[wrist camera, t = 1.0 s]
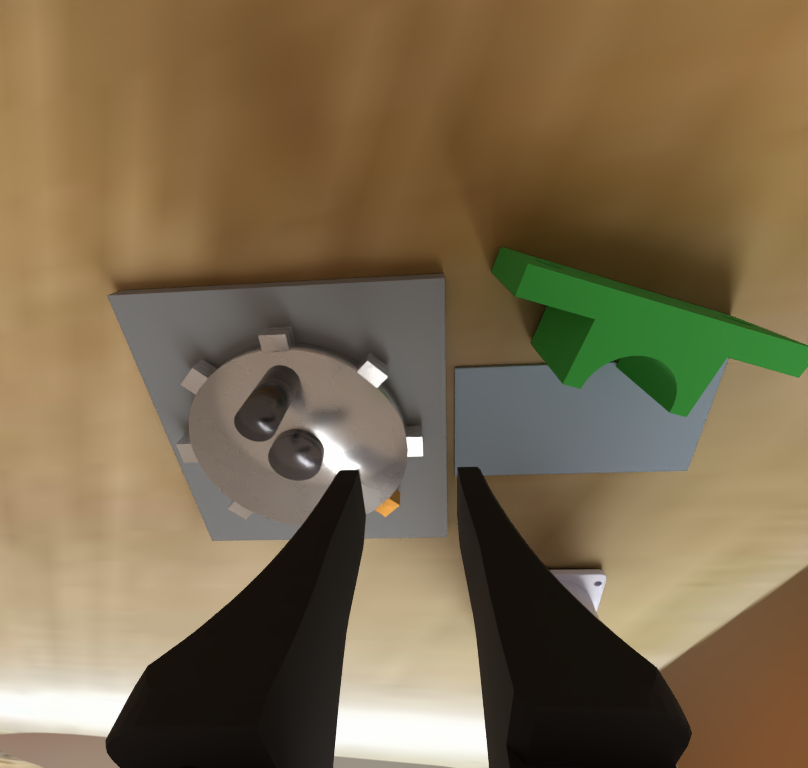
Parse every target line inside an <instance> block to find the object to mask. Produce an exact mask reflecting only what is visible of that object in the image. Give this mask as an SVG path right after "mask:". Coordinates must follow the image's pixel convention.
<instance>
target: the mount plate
mask: <svg viewBox="0 0 808 768" xmlns="http://www.w3.org/2000/svg"><path fill="white" fill-rule="evenodd" d="M108 299H109V301H110V303H111V306H112V308H113V310H114V313H115V315H116V317H117V320H118V322H119V324H120V327H121V329H122V331H123V334H124V336H125V338H126V341H127V343H128V345H129V348H130V350H131V352H132V355H133V357H134V359H135V362H136V364H137V366H138V369H139V371H140V373H141V376H142V378H143V380H144V383H145V385H146V387H147V390H148V392H149V394H150V397H151V399H152V401H153V404H154V406H155V408H156V411H157V413H158V415H159V418H160V420H161V422H162V425H163V427H164V429H165V432H166V434H167V436H168V439H169V441H170V443H171V446H172V448H173V450H174V453H175V455H176V457H177V460H178V462H179V464H180V467H181V469H182V471H183V474H184V476H185V478H186V481H187V483H188V485H189V488H190V490H191V492H192V495H193V497H194V499H195V502H196V504H197V506H198V509H199V511H200V513H201V516H202V518H203V520H204V523H205V525H206V527H207V530H208V532H209V534H210V537H211V539H212V541H231V540H290V539H291V538H292V537H293V535H294V534H295V533H296V532H297V530H298V529H299V528H300V527H301V526H300V525H292V524H287V523H282V522H278V521H275V520H272V519H268V518H266V517H263V516H261V515H258V514H256V513H254V512H253V513H252V514H251V515H250V516H249V517H248V518H247V519H244V518H243V517H241V516H239V515H237V514H235V513H234V512H232V511H230V510H228V508H229V506H230V504H231V502H232V499H230V498H229V497H228V496H227V495H225V494H224V493H223V492H222V491H221V490H220V489H219V488H218V487H216V486H215V485H214V484H213V482H212V481H211V480H210V479H209V478H208V476H207V475H206V474H205V472H204V471H203V469H202V468H201V466H200V465H199V463H198V462H190V463H184V462H183V460H182V458H181V455H180V453H179V450H178V448H177V446H176V444H177V442H178V441H179V440H180V439H181V438H182V437H183V435H184V434H185V433H189V414H190V408H191V405H192V403H193V400H194V397H195V394H194V393H192V392H191V391H189V390H188V389H186V388H184V387H183V386H181V383H182V382H183V380H184V379H185V378H186V376H187V375H188V373H189V372H190V370H191V369H192V368H193V367H194V366H195V365H196V364H197V363H198V362H199V361H200V360H202V359H204V360H206V361H207V362H209V363H210V364H212V365H213V366H215V367H216V368H218V367H219V366H221V365H222V364H223V363H224V362H225V361H227V360H228V359H229V358H231V357H233V356H235V355H236V354H238V353H240V352H242V351H244V350H247V349H249V348H252V347H255V346H259V345H260V341H259V337H258V335H259V334H260V333H261V332H262V331H263V330H264V329H265V328H266V327H282V326H292V329H293V333H294V338H295V342H300V343H307V344H314V345H318V346H322V347H325V348H329V349H332V350H334V351H337V352H340V353H342V354H344V355H346V356H348V357H350V358H352V359H354V360H356V361H358V362H360V361H361V360H362V359H363V358H364V357H365V356H366V355H367V354H368V353H369V352H371V353H373V354H374V355H375V356H376V357H378V358H379V359H380V360H381V361H383V362H384V363H385V364H386V365H388V366H389V374H388V377H387V378H386V379H385V380H384V381H383V383H384V384H385V385H386V386H387V387H388V388H389V390H390V391H391V392H392V394H393V395H394V397H395V398H396V400H397V401H398V404H399V406H400V408H401V410H402V412H403V415H404V418H405V421H406V425H407V426H413V425H422V436H423V456H413V457H407V464H406V469H405V472H404V475H403V478H402V480H401V482H400V484H399V485H398V487H397V489H396V490H398V491H399V492H400V506H399V507H397V508H396V509H395V510H394V511H392V512H391V513H390V514H389V515H387V516H386V517H385V516H383V515H382V514H380V513H379V512H377V511H375V510H374V511H372V512H370V513H369V514H367V515H366V523H365V534H364V538H429V537H448V534H447V442H446V350H445V277H444V273H442V274H424V275H405V276H386V277H367V278H348V279H329V280H310V281H291V282H273V283H254V284H235V285H216V286H197V287H178V288H159V289H140V290H122V291H117V292H115V293H112V294H110V295H108Z"/></svg>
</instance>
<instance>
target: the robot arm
mask: <svg viewBox="0 0 808 768" xmlns="http://www.w3.org/2000/svg"><path fill="white" fill-rule="evenodd" d="M457 518H458V529H459V541H460V549H461V554H462V559H463V565H464V570H465V575H466V580H467V586H468V591H469V596H470V601H471V606H472V612H473V617H474V623H475V630H476V638H477V647H478V657H479V667H480V676H481V686H482V696H483V707H484V717H485V728H486V738H487V749H488V760H489V768H678V767H677V766H676V763H677V761H678V760H679V758H680V757H681V755H682V754H683V752H684V751H685V749H686V748H687V746H688V743H689V741H690V738H691V735H692V732H691V729H690V726H689V724H688V721H687V719H686V717H685V715H684V713H683V711H682V709H681V707H680V705H679V703H678V701H677V700H676V698H675V696H674V695H673V693H672V691H671V690H670V688H669V686H668V684H667V683H666V681H665V680H664V678H663V677H662V675H661V673H660V672H659V670H658V669H657V667H655V666H654V665H653V664H651V663H650V662H649V661H648V660H646V659H645V658H644V657H643V656H641V655H640V654H639V653H638V652H636V651H635V650H634V649H633V648H631V647H630V646H629V645H628V644H626V643H625V642H624V641H623V640H622V639H620V638H619V637H618V636H617V635H616V634H615V633H613V632H612V631H611V630H610V629H609V628H608V627H607V626H605V625H604V624H603V623H602V622H601V621H600V620H599V617H598V615H597V610H598V606H599V603H600V599H601V596H602V593H603V589H604V586H605V582H606V579H607V576H606V574H605V572H604V571H603V570H600V569H580V570H549V569H548V568H547V567H546V566H545V565H544V564H543V562H542V561H541V560H540V559H539V558H538V557H537V555H536V554H535V553H534V552H533V551H532V549H531V548H530V547H529V546H528V544H527V543H526V542H525V540H524V539H523V538H522V536H521V535H520V534H519V532H518V531H517V530H516V528H515V527H514V525H513V524H512V523H511V521H510V520H509V518H508V517H507V515H506V514H505V512H504V511H503V509H502V508H501V506H500V505H499V503H498V501H497V500H496V498H495V496H494V495H493V493H492V491H491V489H490V488H489V486H488V484H487V482H486V480H485V478H484V476H483V474H482V472H481V469H480V468H478V467H457ZM365 523H366V512H365V505H364V499H363V492H362V485H361V479H360V472H359V470H340V471H339V472H338V473H337V474H336V476H335V477H334V479H333V481H332V482H331V484H330V485H329V487H328V489H327V490H326V492H325V493H324V495H323V496H322V498H321V499H320V501H319V502H318V503H317V505H316V506H315V508H314V509H313V510H312V512H311V513H310V515H309V516H308V517H307V519H306V520H305V522H304V523H303V524H302V525H301V527H300V528H299V529H298V530H297V532H296V533H295V534H294V535H293V537H292V538H291V539H290V540H289V542H288V543H287V544H286V545H285V547H284V548H283V549H282V550H281V551H280V552H279V553H278V555H277V556H276V557H275V558H274V559H273V560H272V561H271V562H270V563H269V564H268V565H267V567H266V568H265V569H264V570H263V571H262V572H261V573H260V574H259V575H258V576H257V577H256V578H255V579H254V580H253V581H252V582H251V583H250V584H249V585H248V586H247V587H246V588H245V589H244V590H243V591H241V592H240V593H239V594H238V595H237V596H236V597H235V598H234V599H233V600H232V601H231V602H229V603H228V604H227V605H226V606H225V607H224V608H222V609H221V610H220V611H219V612H218V613H216V614H215V615H214V616H213V617H212V618H211V619H209V620H208V621H207V622H206V623H205V624H203V625H202V626H201V627H200V628H199V629H197V630H196V631H195V632H194V633H192V634H191V635H190V636H188V637H187V638H186V639H184V640H183V641H182V642H180V643H179V644H178V645H176V646H175V647H173V648H172V649H171V650H169V651H168V652H167V653H165V654H164V655H162V656H161V657H160V658H158V659H157V660H156V661H154V662H153V663H151V664H150V665H148V666H147V668H146V670H145V671H144V673H143V674H142V676H141V678H140V679H139V681H138V682H137V684H136V685H135V687H134V689H133V691H132V692H131V694H130V696H129V698H128V700H127V701H126V703H125V705H124V707H123V709H122V711H121V713H120V714H119V716H118V718H117V720H116V722H115V724H114V726H113V727H112V729H111V731H110V733H109V735H108V737H107V739H106V750H107V753H108V755H109V756H110V757H111V759H112V760H113V761H114V762H115V763H116V764H117V765H118V766H119V767H120V768H333V761H334V749H335V738H336V727H337V716H338V705H339V696H340V686H341V676H342V667H343V658H344V649H345V640H346V632H347V626H348V620H349V615H350V610H351V605H352V600H353V595H354V590H355V586H356V581H357V576H358V571H359V566H360V561H361V556H362V551H363V545H364V534H365Z"/></svg>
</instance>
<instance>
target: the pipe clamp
mask: <svg viewBox="0 0 808 768" xmlns="http://www.w3.org/2000/svg"><path fill="white" fill-rule="evenodd" d="M491 272H492V274H493V275H494V276H495V277H496V278H497V279H498V280H499V281H500V282H501V283H502V284H503V285H504V286H505V287H506V288H507V289H508V290H509V291H510V292H511V293H512V294H513V295H514V296H516V297H519V298H523V299H526V300H530V301H533V302H537V303H540V304H544V305H547V307H546V309H545V311H544V314H543V316H542V318H541V321H540V323H539V325H538V327H537V330H536V332H535V334H534V336H533V339H532V341H531V345H532V346H533V347H534V348H535V350H536V351H537V352H538V354H539V355H540V356H541V357H542V359H543V360H544V361H545V362H546V364H547V365H548V366H549V368H550V369H551V370H552V371H553V373H554V374H555V375H556V376H557V378H558V379H559V380H560V382H561V383H562V384H564V385H567V386H571V387H575V388H579V389H581V388H582V386H583V385H584V383H585V382H586V381H587V379H588V378H589V377H590V376H591V375H592V374H593V373H594V372H595V371H597V370H598V369H599V368H601V367H602V366H604V365H606V364H607V363H609V362H612V361H614V360H617V359H619V361H618V363H617V365H616V367H617V368H618V369H619V370H620V371H621V372H623V373H624V374H625V375H626V376H627V377H628V378H630V379H631V380H632V381H633V382H634V383H635V384H636V385H638V386H639V387H640V388H641V389H642V390H643V391H645V392H646V393H647V394H648V395H649V396H650V397H652V398H653V399H654V400H655V401H656V402H657V403H659V404H660V405H661V406H662V407H663V408H664V409H666V410H667V411H668V412H669V413H672V414H676V415H680V416H684V417H687V416H688V414H689V413H690V411H691V410H692V408H693V407H694V406H695V404H696V403H697V401H698V400H699V398H700V397H701V395H702V394H703V392H704V391H705V389H706V388H707V387H708V385H709V384H710V382H711V381H712V379H713V378H714V376H715V375H716V373H717V372H718V370H719V369H720V367H721V366H722V365H723V363H724V362H725V360H726V359H727V357H728V358H732V359H735V360H739V361H742V362H746V363H749V364H753V365H756V366H760V367H763V368H767V369H770V370H774V371H777V372H781V373H784V374H788V375H791V376H795V377H798V378H799V377H800V376H801V374H802V373H803V372H804V370H805V369H806V368H807V367H808V345H805V344H803V343H800V342H798V341H795V340H792V339H790V338H787V337H785V336H782V335H780V334H777V333H774V332H772V331H769V330H767V329H764V328H762V327H759V326H756V325H754V324H751V323H749V322H746V321H744V320H741V319H738V318H736V317H733V316H731V315H728V314H724V313H721V312H718V311H714V310H711V309H707V308H704V307H701V306H697V305H694V304H691V303H687V302H684V301H681V300H677V299H674V298H671V297H667V296H664V295H661V294H657V293H654V292H651V291H647V290H644V289H641V288H637V287H634V286H631V285H627V284H624V283H621V282H617V281H614V280H611V279H607V278H604V277H601V276H597V275H594V274H591V273H587V272H584V271H581V270H577V269H574V268H570V267H567V266H564V265H560V264H557V263H554V262H550V261H547V260H544V259H540V258H537V257H534V256H530V255H527V254H524V253H520V252H517V251H514V250H510V249H507V248H504V247H500V250H499V252H498V255H497V258H496V260H495V263H494V266H493V269H492V271H491Z"/></svg>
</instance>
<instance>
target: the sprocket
mask: <svg viewBox="0 0 808 768" xmlns="http://www.w3.org/2000/svg"><path fill="white" fill-rule="evenodd" d="M258 337H259V341H260V345H259V346H255V347H252V348H249V349H247V350H244V351H242V352H240V353H238V354H236V355H235V356H233V357H231V358H229V359H228V360H227V361H225V362H224V363H223V364H222V365H221V366H219V367H218V368H216V367H215V366H213V365H212V364H210V363H209V362H207V361H206V360H204V359H202V360H200V361H199V362H198V363H197V364H196V365H195V366H194V367H193V368H192V369H191V370H190V372H189V373H188V375H187V376H186V378H185V379H184V380H183V382H182V383H181V386H183V387H184V388H186V389H188V390H189V391H191V392H192V393H194V394H195V397H194V400H193V403H192V405H191V408H190V414H189V433H185V434H184V435H183V437H182V438H181V439H180V440H179V441H178V442H177V444H176V446H177V448H178V450H179V453H180V455H181V458H182V460H183V462H184V463H190V462H198V463H199V465H200V466H201V468H202V469H203V471H204V472H205V474H206V475H207V476H208V478H209V479H210V480H211V481H212V482H213V484H214V485H215V486H216V487H218V488H219V489H220V490H221V491H222V492H223V493H224V494H225V495H227V496H228V497H229V498H230V499H232V502H231V504H230V506H229V508H228V510H230V511H232V512H234V513H235V514H237V515H239V516H241V517H243V518H244V519H247V518H248V517H249V516H250V515H251V514H252V513H253V512H254V513H256V514H258V515H261V516H263V517H266V518H268V519H272V520H275V521H278V522H282V523H287V524H292V525H300V526H301V525H302V524H303V523H304V522H305V520H306V519H307V517H308V516H309V515H310V513H311V512H312V510H313V509H314V508H315V506H316V505H317V503H318V502H319V501H320V499H321V498H322V496H323V495H324V493H325V492H326V490H327V489H328V487H329V485H330V484H331V482H332V481H333V479H334V477H335V476H336V474H337V473H338V472H339V471H340V470H359V472H360V479H361V485H362V492H363V499H364V505H365V512H366V515H367V514H369V513H370V512H372V511H374V510H375V511H377V512H379V513H380V514H382V515H383V516H385V517H386V516H387V515H389V514H390V513H391V512H392V511H394V510H395V509H396V508H397V507H399V506H400V492H399V491H398V490H396V489H397V487H398V485H399V484H400V482H401V480H402V478H403V475H404V472H405V469H406V464H407V457H413V456H423V436H422V425H413V426H407V425H406V421H405V418H404V415H403V412H402V410H401V408H400V406H399V404H398V401H397V400H396V398H395V397H394V395H393V394H392V392H391V391H390V390H389V388H388V387H387V386H386V385H385V384H384V383H383V381H384V380H385V379H386V378H387V377H388V374H389V366H388V365H386V364H385V363H384V362H383V361H381V360H380V359H379V358H378V357H376V356H375V355H374V354H373V353H371V352H369V353H368V354H367V355H366V356H365V357H364V358H363V359H362V360H361V361H360V362H358V361H356V360H354V359H352V358H350V357H348V356H346V355H344V354H342V353H340V352H337V351H334V350H332V349H329V348H325V347H322V346H318V345H314V344H307V343H300V342H295V338H294V333H293V329H292V326H282V327H266V328H265V329H264V330H263V331H262V332H261V333H260V334H259V335H258Z"/></svg>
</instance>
